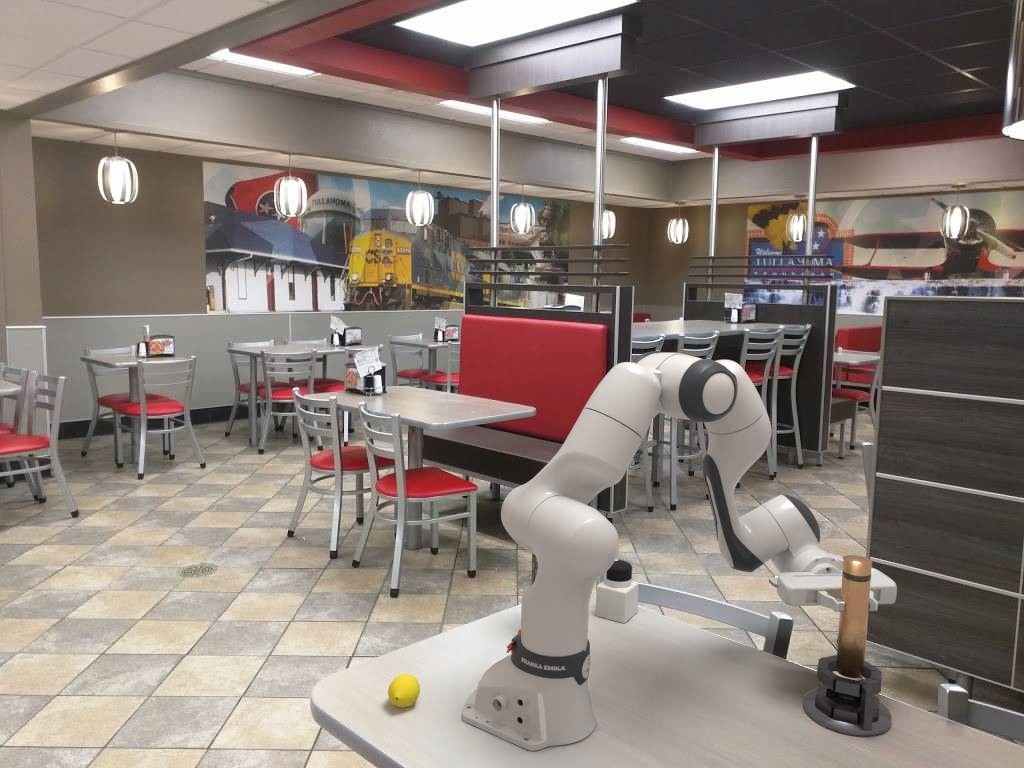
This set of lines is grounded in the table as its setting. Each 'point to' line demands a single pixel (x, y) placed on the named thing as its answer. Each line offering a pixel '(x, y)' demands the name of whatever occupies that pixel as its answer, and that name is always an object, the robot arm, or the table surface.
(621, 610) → the medicine bottle
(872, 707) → the collar stand
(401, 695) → the lemon
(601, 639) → the table surface
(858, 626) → the tube
